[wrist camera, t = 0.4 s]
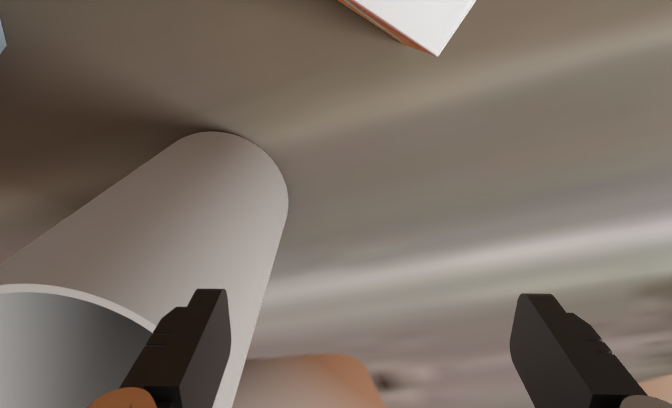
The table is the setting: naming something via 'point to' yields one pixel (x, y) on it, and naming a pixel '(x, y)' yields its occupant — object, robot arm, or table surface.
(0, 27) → the bead
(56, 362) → the cylinder vase
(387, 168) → the table surface
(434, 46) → the small box
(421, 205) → the table surface
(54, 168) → the table surface
